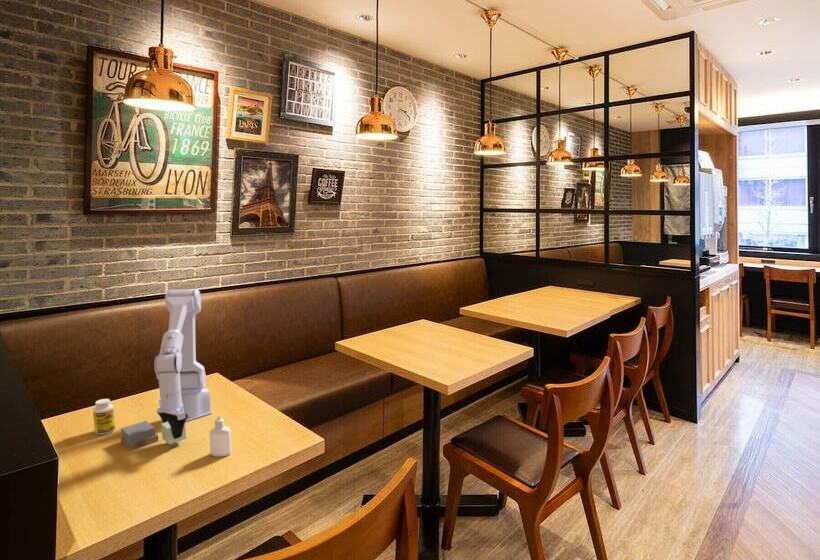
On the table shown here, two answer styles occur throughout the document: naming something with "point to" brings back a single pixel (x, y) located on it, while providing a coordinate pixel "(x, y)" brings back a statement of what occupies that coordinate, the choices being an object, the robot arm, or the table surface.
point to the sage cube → (168, 435)
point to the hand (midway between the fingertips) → (173, 434)
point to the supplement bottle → (103, 417)
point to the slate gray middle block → (138, 432)
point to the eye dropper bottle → (220, 439)
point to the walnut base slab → (139, 442)
